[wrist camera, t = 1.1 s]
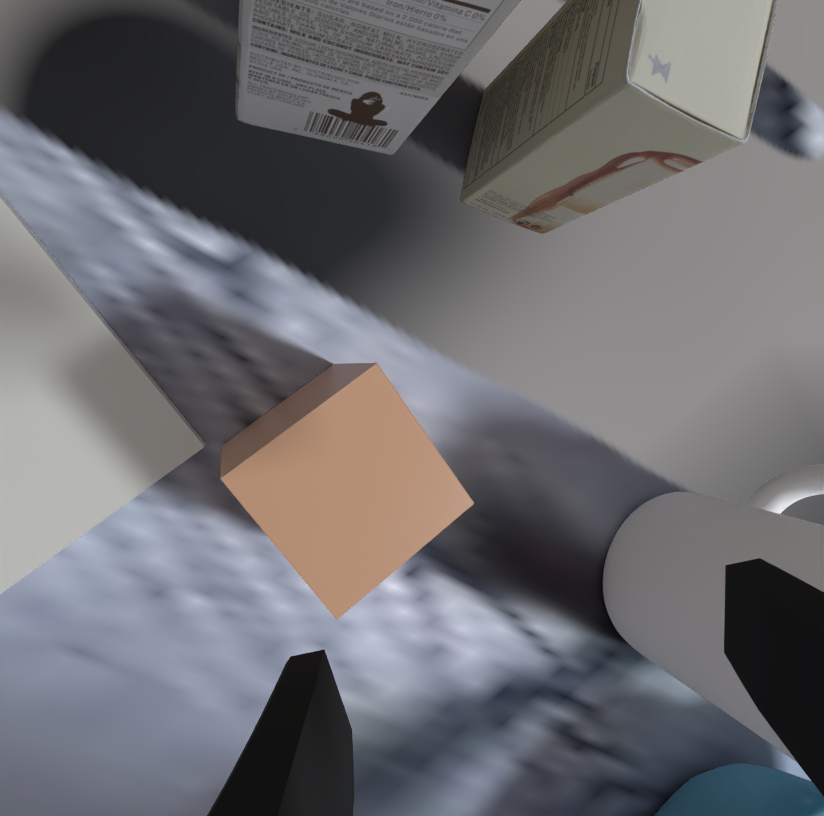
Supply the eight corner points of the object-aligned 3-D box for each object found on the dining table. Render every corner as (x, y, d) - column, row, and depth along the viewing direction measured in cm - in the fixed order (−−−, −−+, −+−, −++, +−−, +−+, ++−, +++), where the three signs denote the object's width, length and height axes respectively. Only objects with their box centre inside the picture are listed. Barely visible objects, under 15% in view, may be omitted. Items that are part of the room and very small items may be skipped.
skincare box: (544, 238, 25) (747, 156, 15) (454, 203, 23) (616, 88, 14) (573, 123, 25) (793, -32, 15) (485, 81, 23) (667, -119, 14)
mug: (713, 398, 28) (972, 415, 18) (793, 504, 30) (1061, 569, 21) (564, 583, 26) (766, 712, 16) (661, 682, 28) (889, 847, 19)
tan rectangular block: (305, 548, 22) (336, 619, 16) (221, 445, 21) (220, 478, 15) (407, 466, 23) (474, 503, 17) (333, 363, 22) (377, 363, 16)
